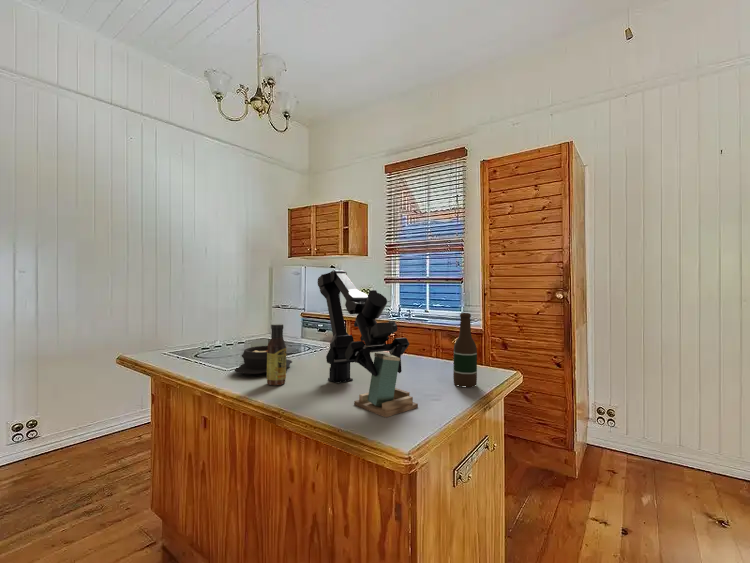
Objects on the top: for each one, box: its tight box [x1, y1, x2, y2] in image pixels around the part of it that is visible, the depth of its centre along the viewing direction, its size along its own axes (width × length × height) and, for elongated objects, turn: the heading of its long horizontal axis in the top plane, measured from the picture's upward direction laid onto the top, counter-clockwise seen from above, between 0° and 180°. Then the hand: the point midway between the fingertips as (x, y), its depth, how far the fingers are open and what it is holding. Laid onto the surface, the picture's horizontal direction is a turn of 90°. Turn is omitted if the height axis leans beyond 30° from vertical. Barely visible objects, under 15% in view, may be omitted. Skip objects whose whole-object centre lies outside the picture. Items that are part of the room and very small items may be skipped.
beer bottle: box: [452, 312, 478, 388], centre depth 127 cm, size 8×8×24 cm
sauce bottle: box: [266, 323, 287, 386], centre depth 127 cm, size 7×6×20 cm
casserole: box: [233, 345, 293, 375], centre depth 146 cm, size 25×19×8 cm
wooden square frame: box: [353, 387, 419, 419], centre depth 105 cm, size 12×13×4 cm
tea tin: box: [368, 352, 400, 406], centre depth 104 cm, size 5×5×13 cm
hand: (388, 373), depth 104 cm, fingers open, 7 cm apart
